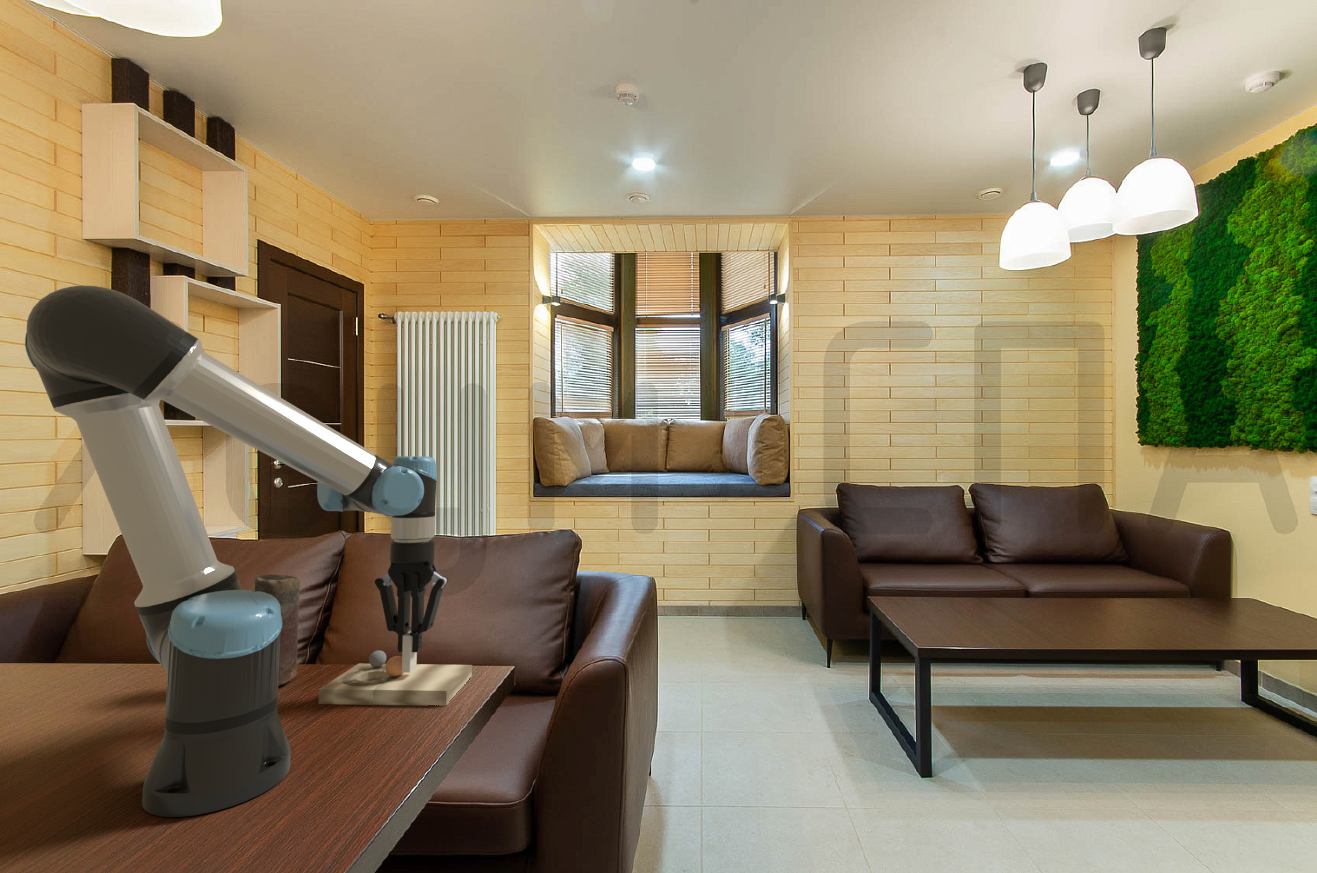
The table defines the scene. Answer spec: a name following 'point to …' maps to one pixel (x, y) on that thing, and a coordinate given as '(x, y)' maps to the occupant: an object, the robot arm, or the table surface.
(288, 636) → the candle
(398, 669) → the orange ball
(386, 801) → the table surface
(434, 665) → the board
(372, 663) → the grey ball
